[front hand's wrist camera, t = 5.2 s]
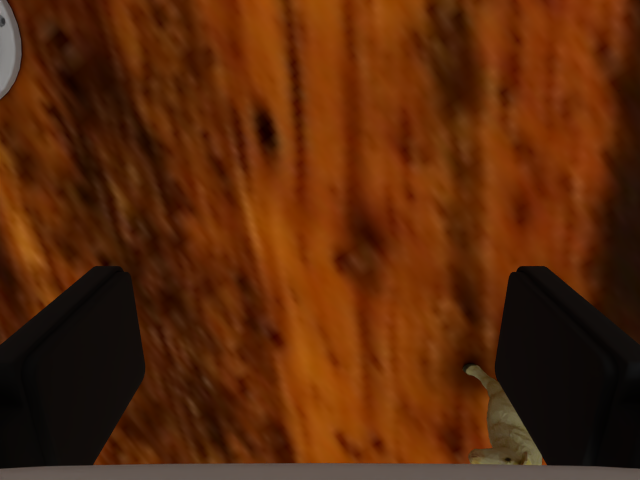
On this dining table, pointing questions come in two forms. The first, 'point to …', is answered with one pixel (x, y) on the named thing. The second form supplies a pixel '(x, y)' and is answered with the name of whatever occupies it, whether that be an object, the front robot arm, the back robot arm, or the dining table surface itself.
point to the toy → (503, 429)
